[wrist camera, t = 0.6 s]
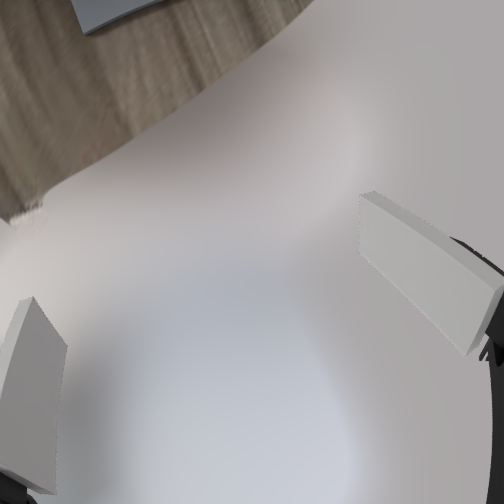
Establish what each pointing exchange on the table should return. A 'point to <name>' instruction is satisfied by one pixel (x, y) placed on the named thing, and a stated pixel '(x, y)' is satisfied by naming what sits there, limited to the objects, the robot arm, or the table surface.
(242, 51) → the table surface
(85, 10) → the board
